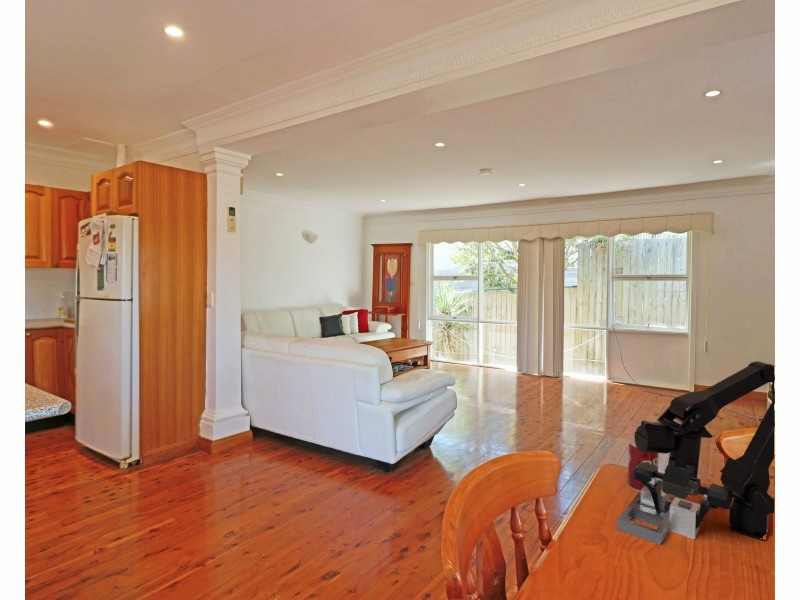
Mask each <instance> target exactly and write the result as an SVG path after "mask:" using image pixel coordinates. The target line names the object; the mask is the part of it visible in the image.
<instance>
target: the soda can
mask: <svg viewBox="0 0 800 600" xmlns="http://www.w3.org/2000/svg"><path fill="white" fill-rule="evenodd" d="M627 452H628V455H627V458H628V459H627V485H628V486H629V488H631V490H634V491H636V492H638V493H639V491H641V489H642V488H643V487H644V485H643V484H642V482H641V481H638V480H635V479H634V478H633V473H634V469H635V468H636V467H637V466H638V465H639V464H640V463H641V462H644V463H647V464H650V465H654V466H657V467H658V468H659V462H660V461H659V460H660V459H659V458H660V453H649V452H640V451H639V450H638V449H637V447H636V444H635V439H634V440H631V441H630V442H629V443H628V451H627Z"/></svg>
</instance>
